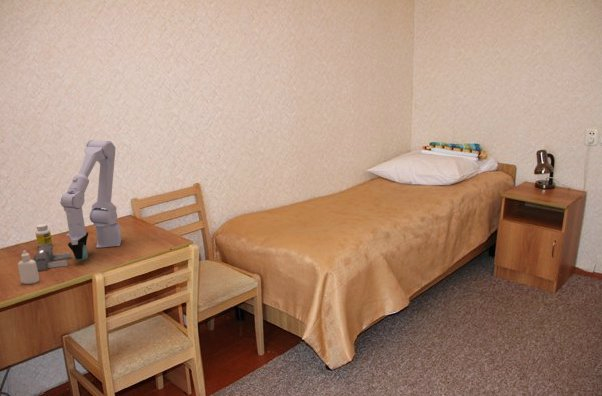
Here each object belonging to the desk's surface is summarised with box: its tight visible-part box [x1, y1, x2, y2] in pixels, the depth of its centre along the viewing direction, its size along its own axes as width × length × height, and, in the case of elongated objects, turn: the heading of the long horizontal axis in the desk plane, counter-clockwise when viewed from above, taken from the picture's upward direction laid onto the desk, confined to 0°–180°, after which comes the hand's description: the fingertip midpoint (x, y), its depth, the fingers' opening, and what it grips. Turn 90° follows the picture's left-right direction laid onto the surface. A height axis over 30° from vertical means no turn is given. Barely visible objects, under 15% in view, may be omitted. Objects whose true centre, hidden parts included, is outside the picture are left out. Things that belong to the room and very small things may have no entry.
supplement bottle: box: [35, 223, 53, 250], centre depth 195 cm, size 5×5×10 cm
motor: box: [32, 244, 73, 272], centre depth 180 cm, size 11×12×6 cm
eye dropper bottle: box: [17, 250, 40, 285], centre depth 164 cm, size 4×6×12 cm
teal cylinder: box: [73, 244, 89, 262], centre depth 184 cm, size 5×5×6 cm
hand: (81, 255), depth 185 cm, fingers open, 7 cm apart
